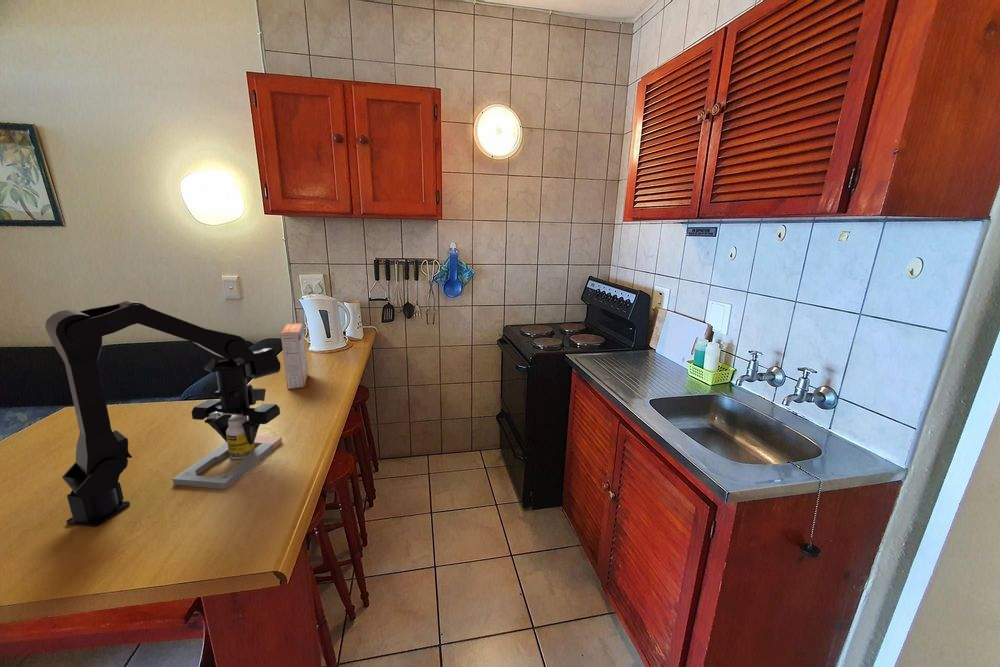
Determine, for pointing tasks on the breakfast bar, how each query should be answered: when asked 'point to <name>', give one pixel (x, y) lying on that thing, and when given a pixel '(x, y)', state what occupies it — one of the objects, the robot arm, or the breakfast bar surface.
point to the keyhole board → (225, 480)
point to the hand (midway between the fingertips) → (240, 443)
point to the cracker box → (294, 355)
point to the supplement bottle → (237, 438)
